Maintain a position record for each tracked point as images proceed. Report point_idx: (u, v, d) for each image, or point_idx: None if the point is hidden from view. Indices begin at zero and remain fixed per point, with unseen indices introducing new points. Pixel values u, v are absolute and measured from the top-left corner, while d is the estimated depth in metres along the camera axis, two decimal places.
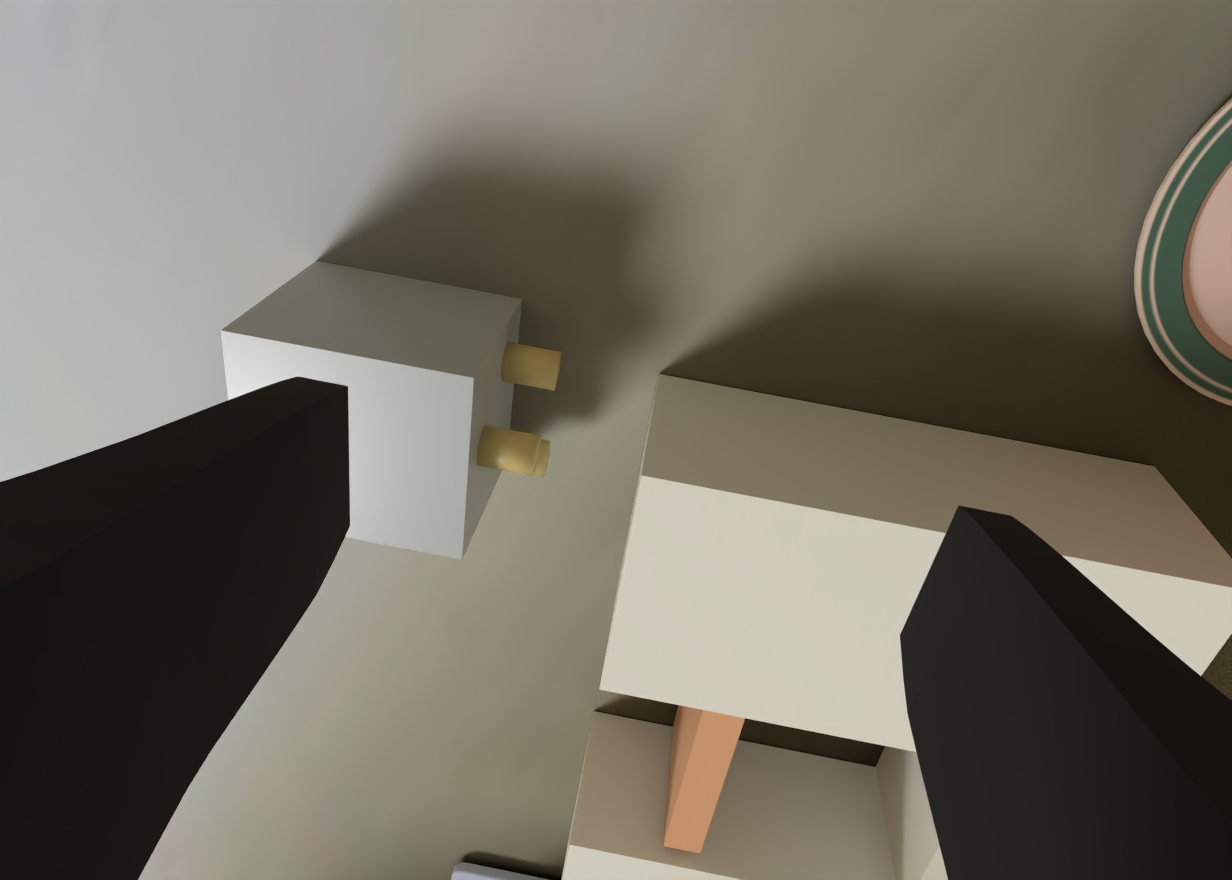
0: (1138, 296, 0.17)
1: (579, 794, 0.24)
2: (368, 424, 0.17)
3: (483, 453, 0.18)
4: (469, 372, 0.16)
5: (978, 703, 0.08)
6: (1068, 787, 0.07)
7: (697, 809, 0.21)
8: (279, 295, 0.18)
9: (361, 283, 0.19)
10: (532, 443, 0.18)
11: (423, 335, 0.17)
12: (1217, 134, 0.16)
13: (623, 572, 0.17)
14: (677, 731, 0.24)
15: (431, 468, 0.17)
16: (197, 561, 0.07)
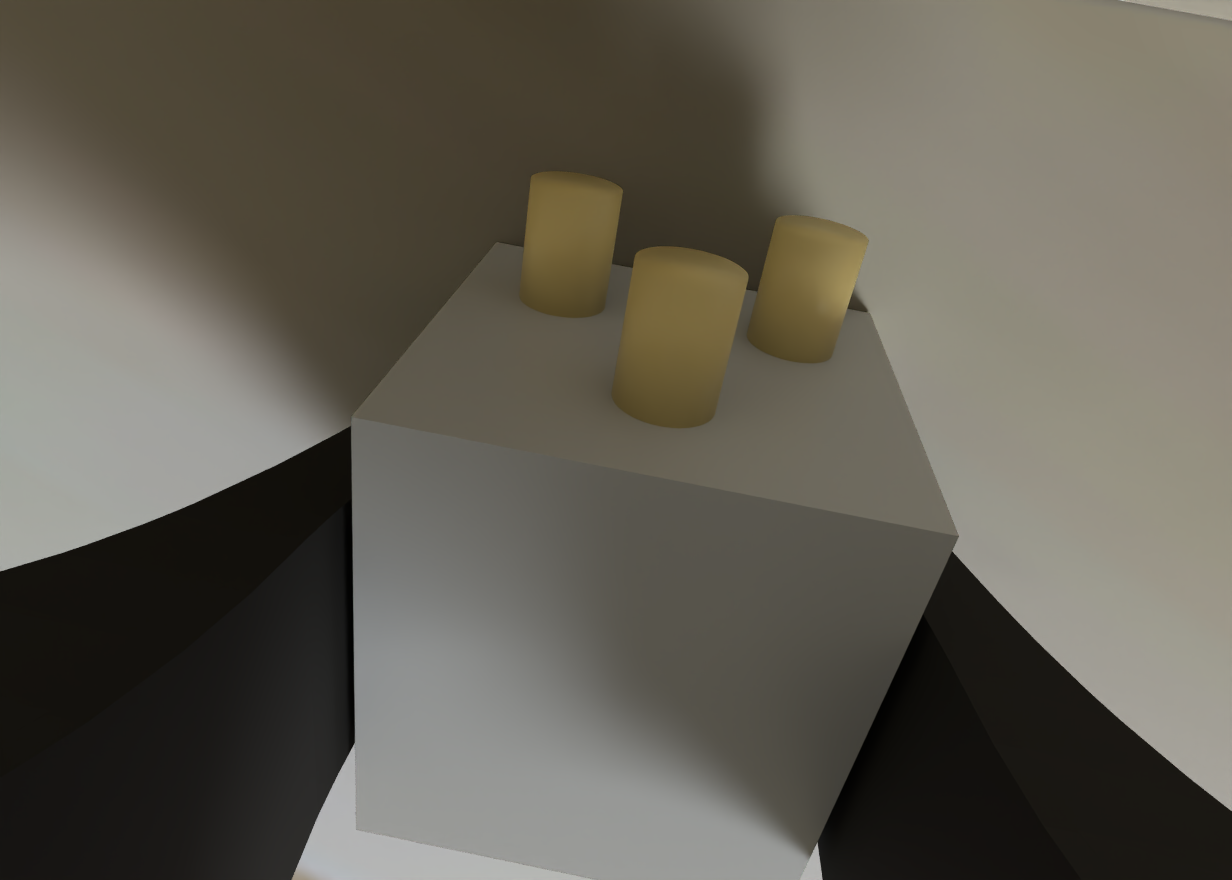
0: None
1: None
2: (521, 659, 0.07)
3: (652, 411, 0.07)
4: (359, 421, 0.06)
5: None
6: (907, 754, 0.07)
7: None
8: None
9: None
10: (636, 274, 0.06)
11: None
12: None
13: None
14: None
15: (636, 556, 0.06)
16: (341, 590, 0.07)
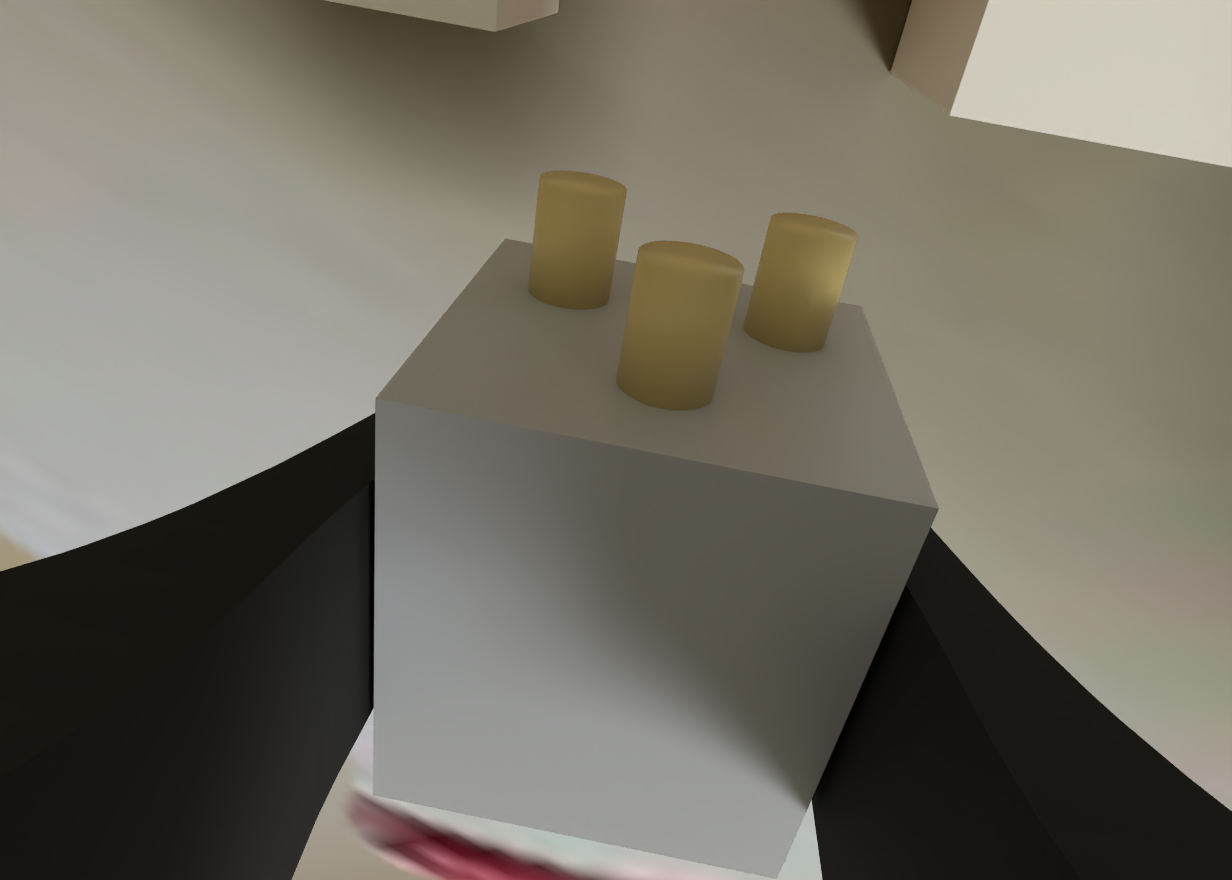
0: None
1: (925, 95, 0.12)
2: (533, 627, 0.08)
3: (654, 393, 0.07)
4: (383, 403, 0.07)
5: None
6: (907, 754, 0.07)
7: None
8: None
9: None
10: (639, 266, 0.07)
11: None
12: None
13: None
14: None
15: (640, 529, 0.07)
16: (341, 590, 0.07)
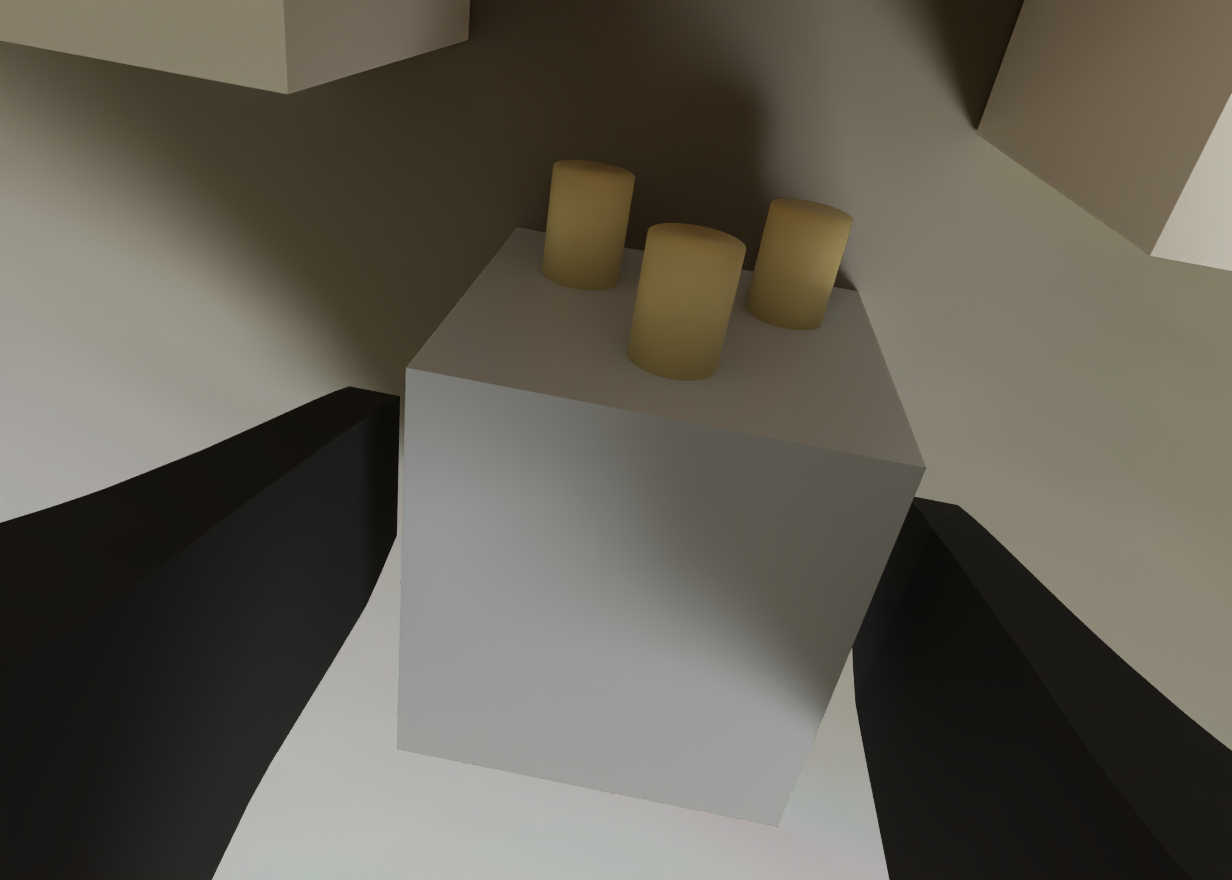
0: None
1: (1070, 194, 0.07)
2: (548, 584, 0.08)
3: (663, 365, 0.08)
4: (412, 373, 0.07)
5: (917, 692, 0.08)
6: (992, 772, 0.07)
7: None
8: None
9: None
10: (648, 246, 0.07)
11: None
12: None
13: None
14: None
15: (650, 489, 0.07)
16: (265, 575, 0.07)
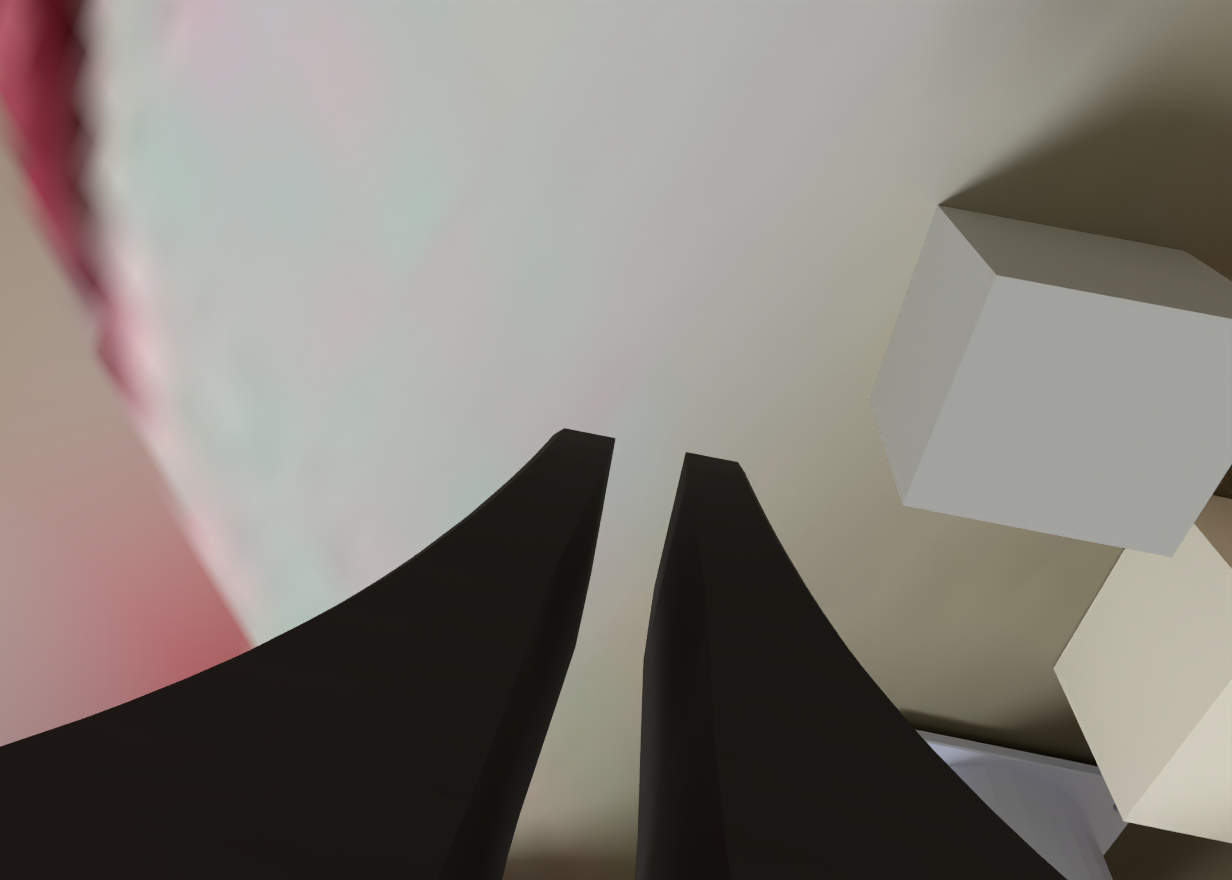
0: None
1: None
2: (1136, 392, 0.14)
3: None
4: None
5: (666, 641, 0.08)
6: (682, 709, 0.07)
7: None
8: (975, 239, 0.15)
9: (1020, 229, 0.16)
10: None
11: (1179, 286, 0.14)
12: None
13: None
14: None
15: (1193, 447, 0.14)
16: (550, 632, 0.07)
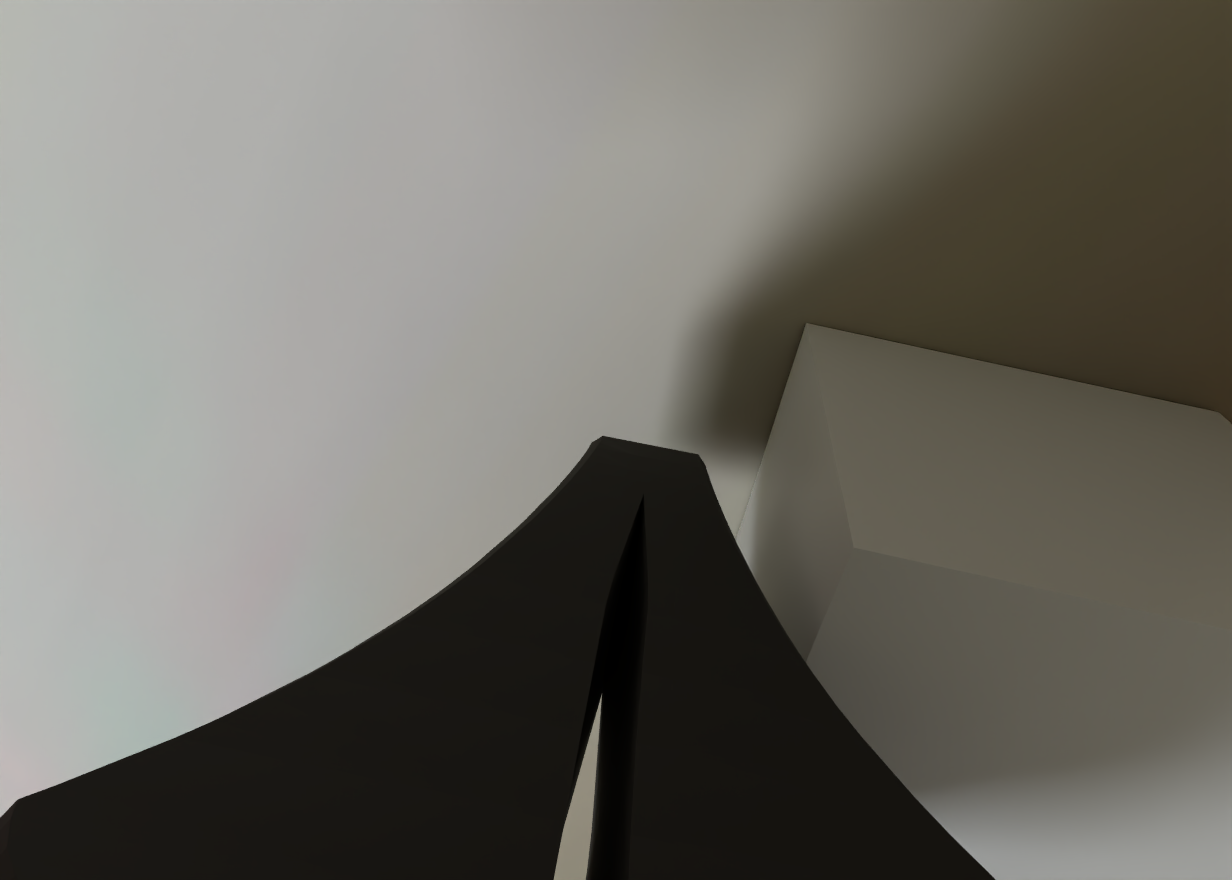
0: None
1: None
2: (1142, 762, 0.07)
3: None
4: None
5: (621, 631, 0.08)
6: (626, 697, 0.07)
7: None
8: (845, 420, 0.08)
9: (941, 382, 0.09)
10: None
11: (1228, 535, 0.07)
12: None
13: None
14: None
15: None
16: (602, 643, 0.07)
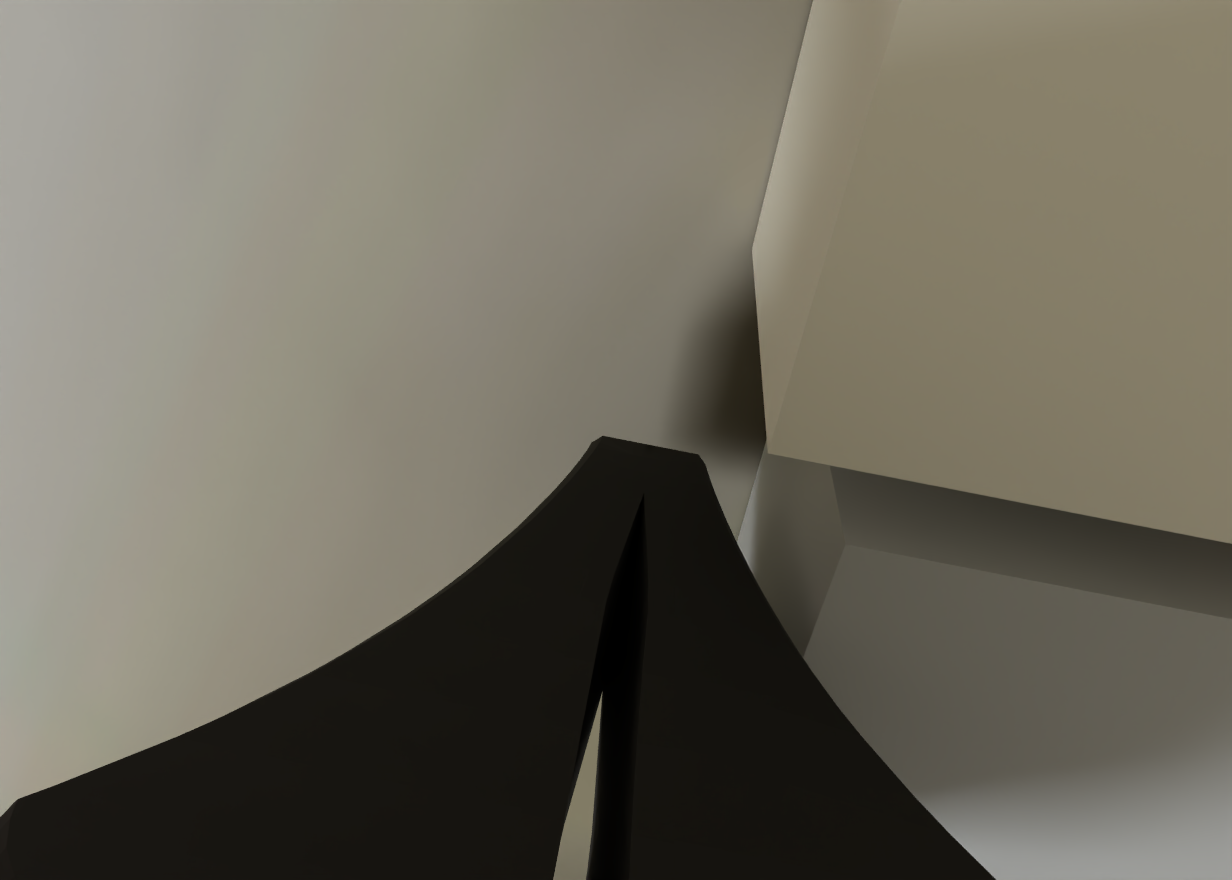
0: None
1: None
2: (1143, 754, 0.07)
3: None
4: None
5: (621, 630, 0.08)
6: (626, 697, 0.07)
7: None
8: None
9: None
10: None
11: None
12: None
13: None
14: None
15: None
16: (602, 643, 0.07)
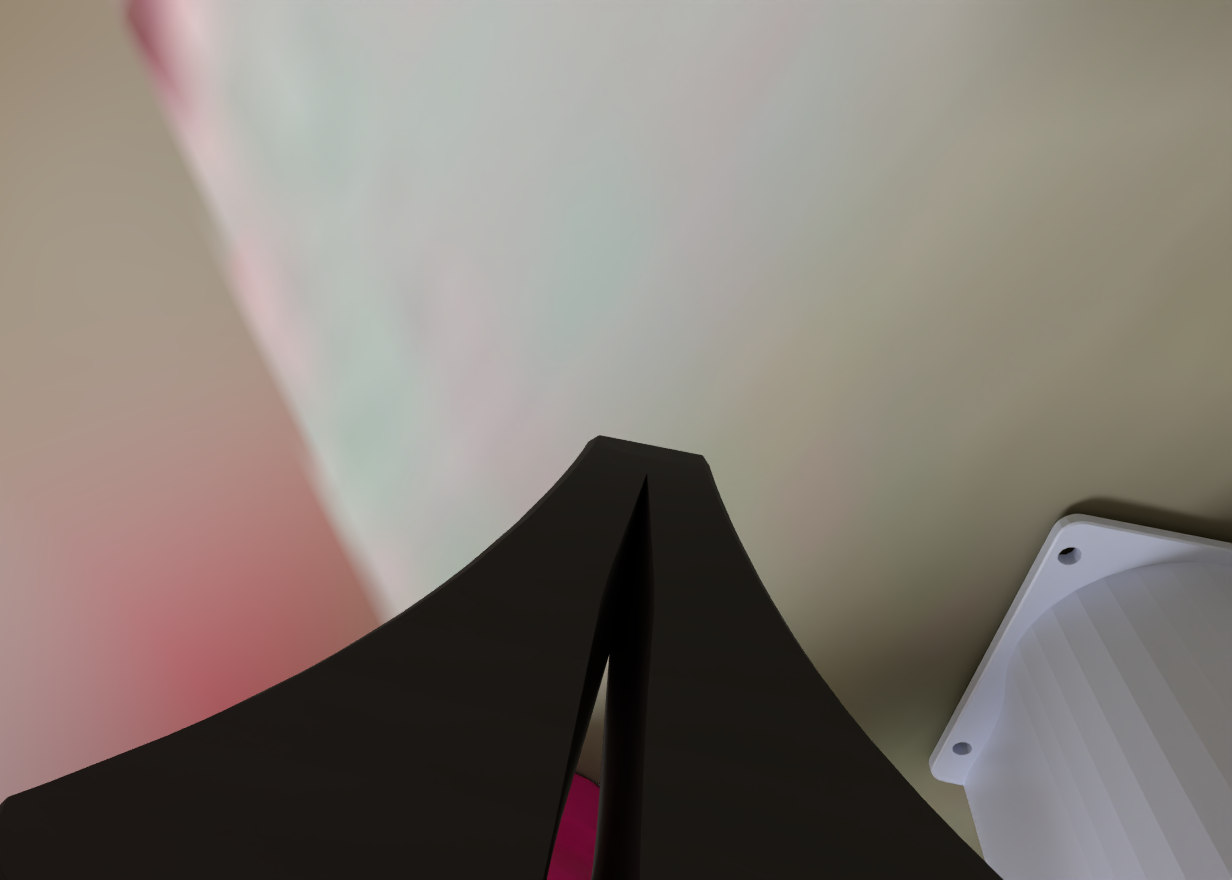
0: None
1: None
2: None
3: None
4: None
5: (625, 632, 0.08)
6: (632, 699, 0.07)
7: None
8: None
9: None
10: None
11: None
12: None
13: None
14: None
15: None
16: (597, 642, 0.07)
